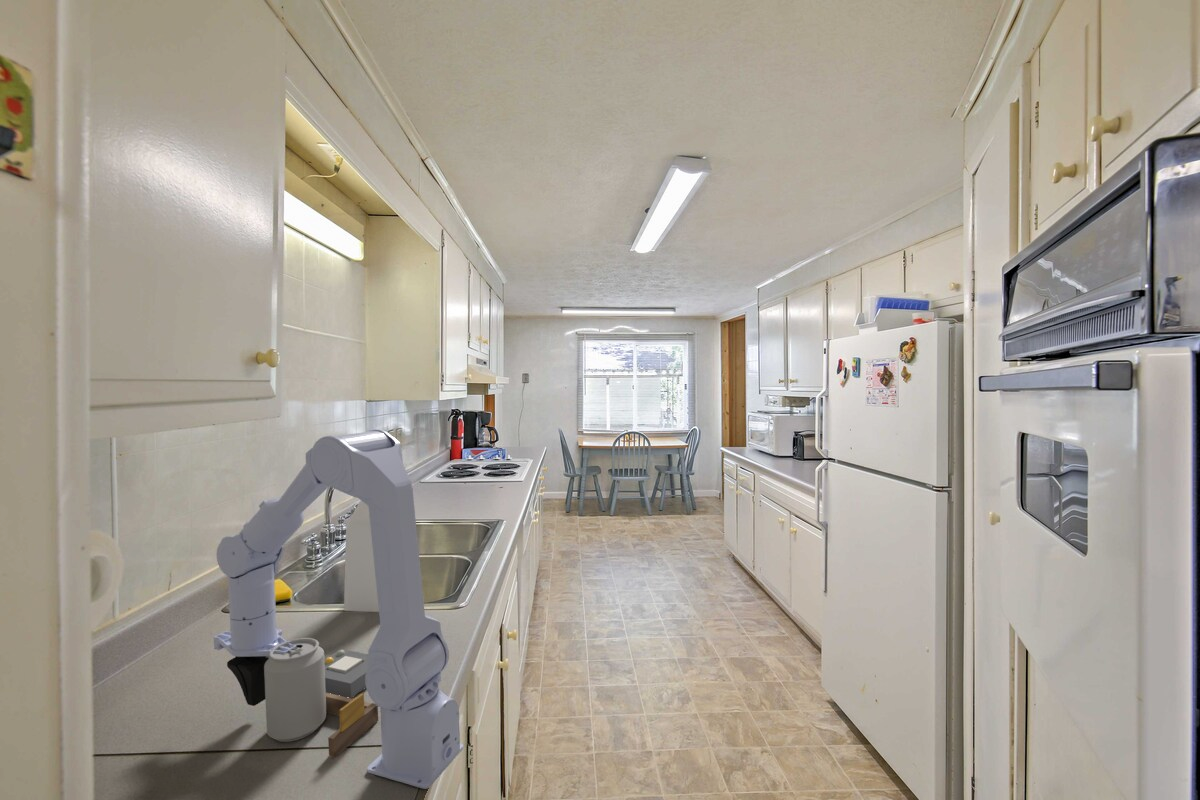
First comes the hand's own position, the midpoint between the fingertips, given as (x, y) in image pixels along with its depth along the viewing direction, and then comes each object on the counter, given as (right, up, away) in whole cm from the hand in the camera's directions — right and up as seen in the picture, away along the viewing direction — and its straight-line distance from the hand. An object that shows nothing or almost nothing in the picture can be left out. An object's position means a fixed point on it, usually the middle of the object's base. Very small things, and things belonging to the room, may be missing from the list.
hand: (257, 701), depth 80 cm
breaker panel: (+9, -2, +10) cm, 13 cm away
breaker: (+9, -1, +10) cm, 13 cm away
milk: (+2, -1, +42) cm, 42 cm away
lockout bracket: (+13, -2, -3) cm, 13 cm away
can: (+7, -3, -3) cm, 8 cm away
